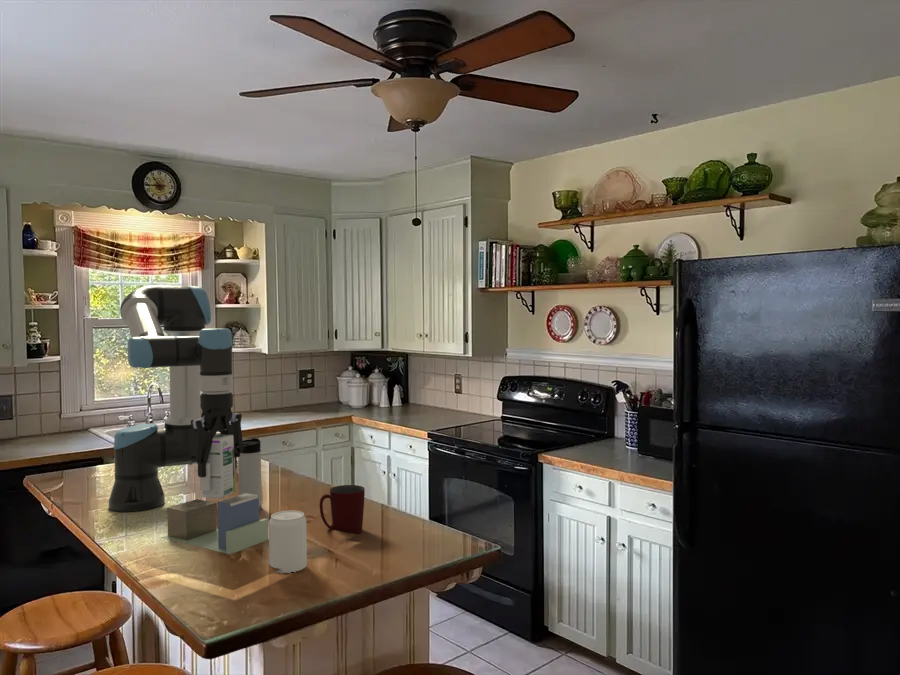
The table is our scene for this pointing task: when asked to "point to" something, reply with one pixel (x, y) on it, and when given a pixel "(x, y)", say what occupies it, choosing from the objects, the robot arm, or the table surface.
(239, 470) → the travel mug
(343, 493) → the mug
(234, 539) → the pale green slab
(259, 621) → the table surface
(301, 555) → the beverage can
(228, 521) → the book block
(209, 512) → the bookend
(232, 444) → the syrup box
